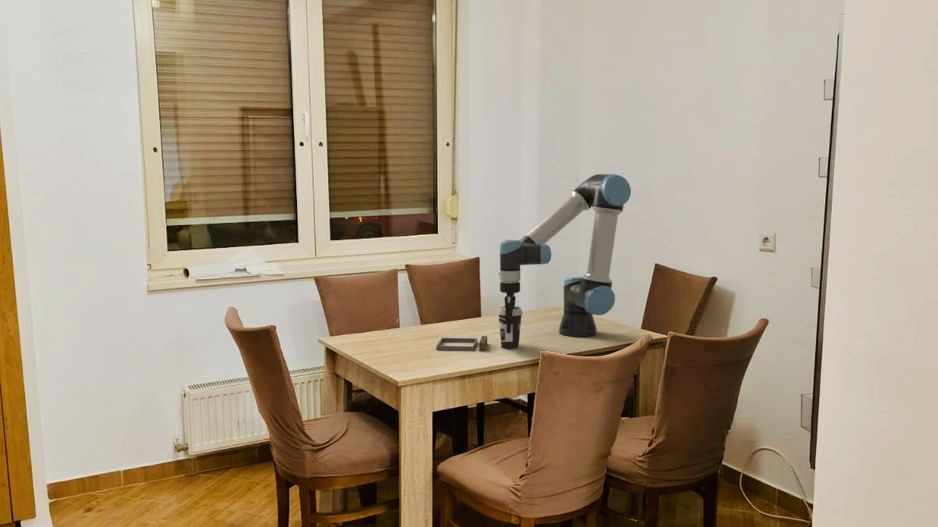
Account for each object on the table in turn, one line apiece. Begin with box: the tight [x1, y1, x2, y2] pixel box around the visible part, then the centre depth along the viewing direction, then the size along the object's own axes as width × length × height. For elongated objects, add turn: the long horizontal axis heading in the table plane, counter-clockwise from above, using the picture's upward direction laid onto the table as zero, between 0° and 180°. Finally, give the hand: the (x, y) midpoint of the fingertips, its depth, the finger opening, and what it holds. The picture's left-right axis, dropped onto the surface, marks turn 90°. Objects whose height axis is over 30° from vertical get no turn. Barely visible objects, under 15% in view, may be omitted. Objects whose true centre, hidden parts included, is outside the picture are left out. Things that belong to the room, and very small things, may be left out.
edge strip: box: [478, 335, 488, 352], centre depth 293 cm, size 2×12×3 cm, turn 173°
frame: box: [435, 337, 479, 352], centre depth 295 cm, size 14×14×2 cm
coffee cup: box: [497, 305, 523, 350], centre depth 292 cm, size 10×10×15 cm
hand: (509, 337), depth 293 cm, fingers open, 13 cm apart
